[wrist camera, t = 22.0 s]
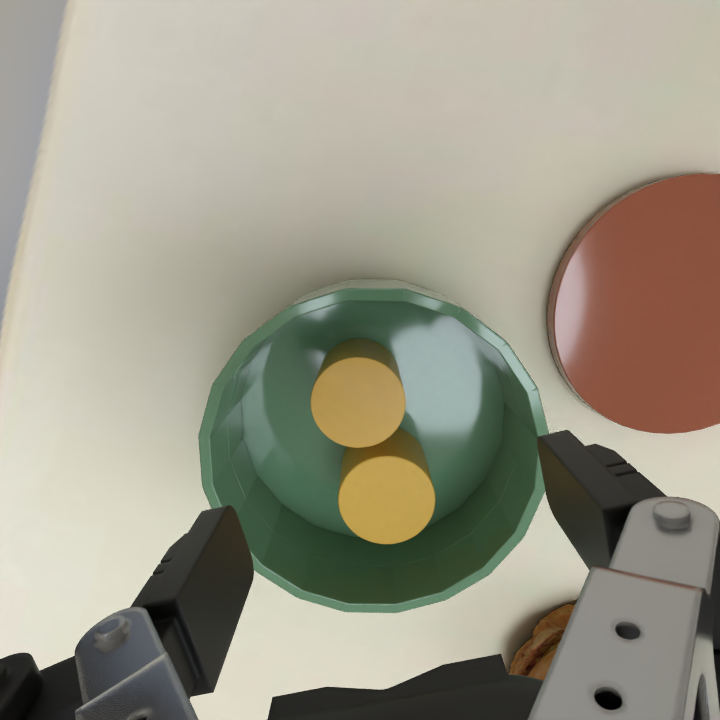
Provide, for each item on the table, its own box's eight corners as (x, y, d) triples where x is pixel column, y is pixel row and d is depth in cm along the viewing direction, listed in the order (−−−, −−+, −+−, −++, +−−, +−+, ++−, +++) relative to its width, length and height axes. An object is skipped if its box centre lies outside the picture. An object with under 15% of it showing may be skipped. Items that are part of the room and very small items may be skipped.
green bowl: (341, 218, 25) (333, 209, 19) (566, 389, 27) (623, 430, 21) (184, 442, 28) (135, 495, 22) (397, 583, 29) (405, 667, 24)
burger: (499, 721, 32) (521, 801, 27) (512, 595, 29) (539, 658, 25) (653, 726, 31) (701, 806, 27) (677, 599, 29) (734, 663, 25)
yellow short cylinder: (375, 408, 26) (376, 437, 22) (443, 456, 27) (455, 492, 23) (325, 472, 27) (318, 510, 23) (392, 517, 28) (396, 561, 24)
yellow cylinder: (350, 322, 25) (347, 337, 21) (415, 369, 26) (425, 394, 21) (304, 385, 26) (291, 413, 22) (368, 430, 27) (368, 465, 22)
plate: (671, 118, 23) (684, 112, 22) (857, 281, 25) (877, 283, 24) (495, 334, 26) (500, 338, 25) (674, 471, 27) (686, 479, 27)
